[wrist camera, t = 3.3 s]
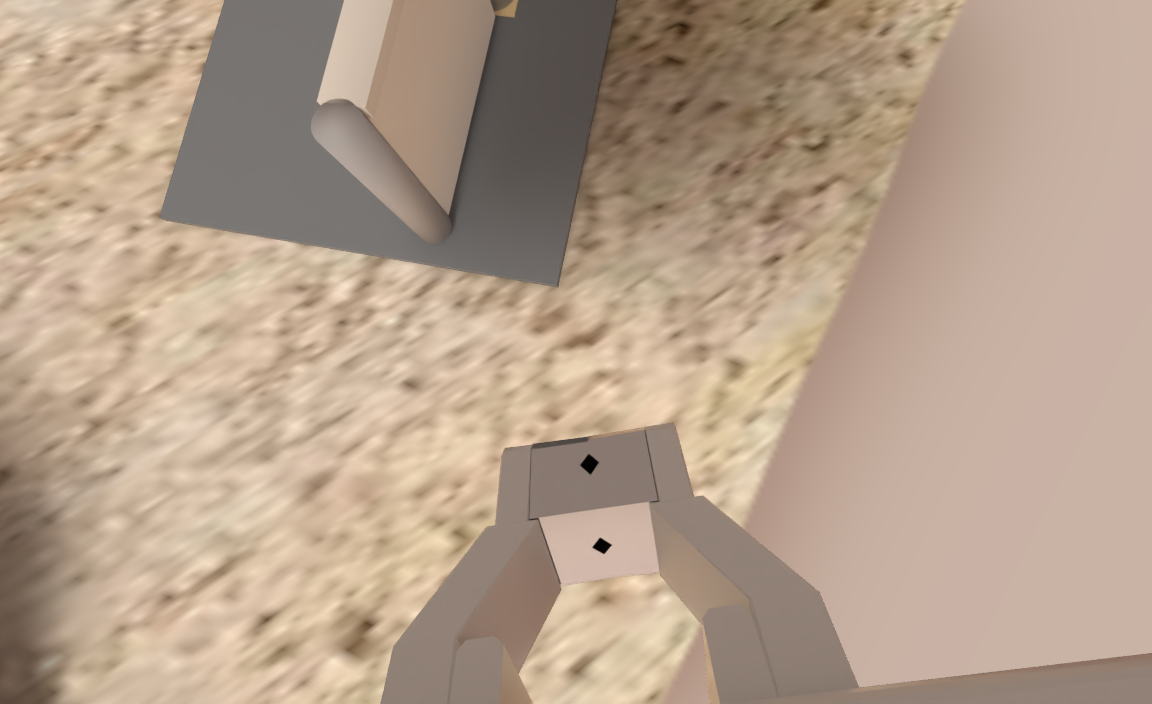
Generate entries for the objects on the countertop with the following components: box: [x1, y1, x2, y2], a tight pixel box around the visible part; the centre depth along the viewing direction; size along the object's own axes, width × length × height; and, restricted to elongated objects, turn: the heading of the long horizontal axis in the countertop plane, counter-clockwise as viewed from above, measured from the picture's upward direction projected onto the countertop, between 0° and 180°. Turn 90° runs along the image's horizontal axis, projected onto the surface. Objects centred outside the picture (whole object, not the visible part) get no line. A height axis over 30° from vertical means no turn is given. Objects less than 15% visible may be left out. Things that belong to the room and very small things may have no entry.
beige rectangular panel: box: [311, 0, 495, 244], centre depth 22 cm, size 2×11×9 cm, turn 168°
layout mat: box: [159, 0, 617, 287], centre depth 28 cm, size 20×25×1 cm
